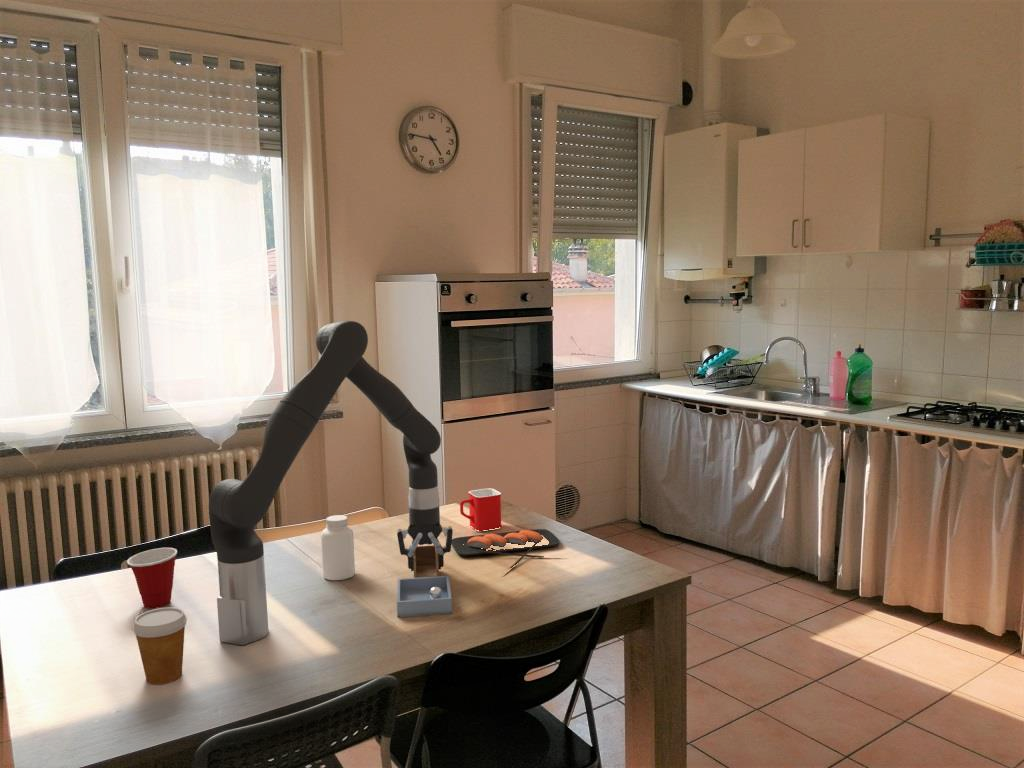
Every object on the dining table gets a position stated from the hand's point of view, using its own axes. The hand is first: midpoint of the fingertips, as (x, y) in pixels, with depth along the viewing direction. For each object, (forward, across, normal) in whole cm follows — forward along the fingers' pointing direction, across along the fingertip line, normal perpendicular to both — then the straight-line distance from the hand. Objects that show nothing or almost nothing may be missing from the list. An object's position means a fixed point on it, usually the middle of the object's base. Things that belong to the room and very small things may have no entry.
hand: (426, 568), depth 204 cm
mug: (+2, +17, +36) cm, 40 cm away
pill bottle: (+2, -22, +5) cm, 22 cm away
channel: (+1, 0, 0) cm, 1 cm away
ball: (0, +2, -16) cm, 16 cm away
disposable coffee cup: (+2, -51, -43) cm, 67 cm away
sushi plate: (+3, +23, +12) cm, 26 cm away
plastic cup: (+2, -63, -6) cm, 63 cm away
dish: (+2, -1, -16) cm, 17 cm away
